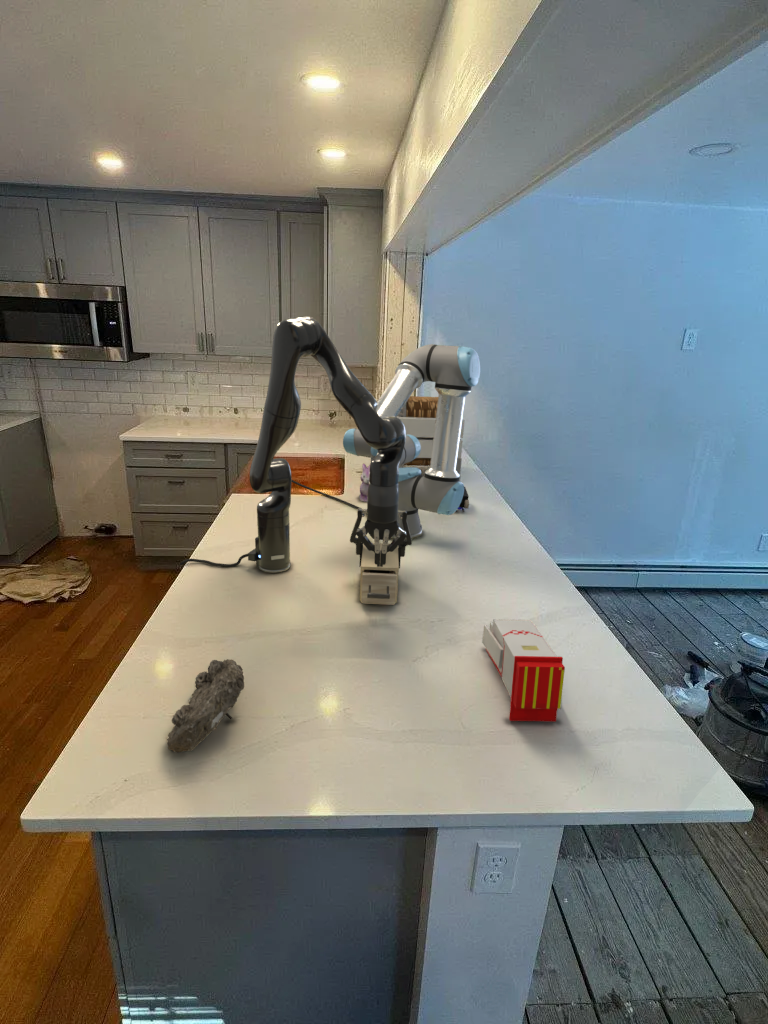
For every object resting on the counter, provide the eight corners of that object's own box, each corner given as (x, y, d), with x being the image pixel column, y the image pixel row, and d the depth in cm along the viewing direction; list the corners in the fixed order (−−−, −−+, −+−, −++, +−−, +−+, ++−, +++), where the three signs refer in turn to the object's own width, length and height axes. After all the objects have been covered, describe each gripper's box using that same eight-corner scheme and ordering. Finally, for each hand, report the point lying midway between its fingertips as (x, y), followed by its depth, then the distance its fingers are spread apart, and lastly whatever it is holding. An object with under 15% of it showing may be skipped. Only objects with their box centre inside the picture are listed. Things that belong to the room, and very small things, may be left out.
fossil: (192, 660, 117) (244, 628, 112) (224, 691, 120) (276, 661, 115) (142, 746, 98) (202, 712, 93) (182, 779, 101) (242, 748, 96)
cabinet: (396, 603, 153) (398, 568, 149) (359, 601, 153) (360, 566, 149) (396, 576, 168) (397, 543, 165) (362, 574, 168) (363, 542, 165)
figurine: (363, 503, 228) (365, 467, 223) (353, 496, 237) (354, 461, 232) (384, 501, 233) (386, 465, 227) (373, 493, 241) (374, 459, 236)
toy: (529, 604, 135) (573, 663, 106) (524, 656, 138) (566, 727, 109) (478, 603, 135) (509, 662, 105) (474, 655, 137) (503, 727, 108)
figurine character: (469, 517, 223) (463, 501, 236) (471, 500, 219) (465, 484, 233) (452, 516, 222) (447, 500, 236) (454, 499, 219) (449, 483, 232)
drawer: (395, 616, 145) (396, 586, 142) (360, 614, 145) (361, 584, 142) (394, 579, 164) (395, 552, 161) (363, 577, 164) (364, 551, 161)
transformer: (382, 463, 289) (386, 382, 275) (445, 464, 293) (451, 384, 279) (390, 482, 257) (394, 392, 243) (460, 483, 261) (468, 394, 247)
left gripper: (354, 504, 133) (352, 570, 139) (410, 506, 133) (406, 573, 139) (356, 494, 140) (354, 558, 146) (409, 496, 140) (405, 560, 146)
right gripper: (340, 493, 151) (339, 569, 159) (425, 497, 151) (419, 573, 159) (342, 485, 158) (341, 558, 166) (423, 489, 158) (418, 561, 166)
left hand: (380, 565), depth 143 cm, fingers closed
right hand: (379, 565), depth 162 cm, fingers closed on cabinet, 10 cm apart
